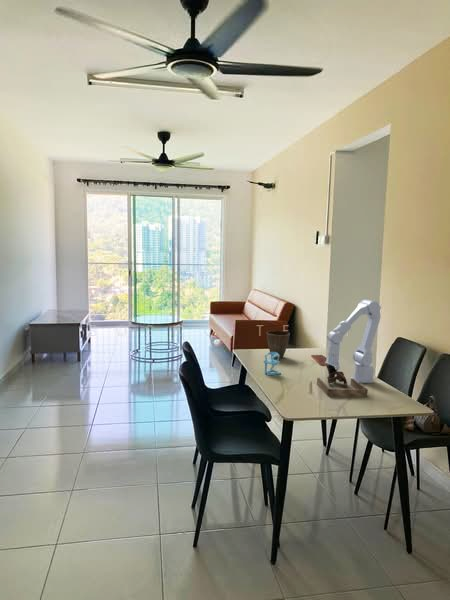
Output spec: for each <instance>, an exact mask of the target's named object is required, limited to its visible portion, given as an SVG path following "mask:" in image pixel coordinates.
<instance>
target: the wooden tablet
mask: <svg viewBox="0 0 450 600" xmlns="http://www.w3.org/2000/svg"><path fill="white" fill-rule="evenodd" d="M310 356H311V358H313V360H315V362H317V364H318V365H319V366H321V367H326V365H329V364H326V363H325V362H326V358H327V356H325V355H323V354H310Z"/></svg>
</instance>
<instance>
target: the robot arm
mask: <svg viewBox="0 0 450 600" xmlns="http://www.w3.org/2000/svg"><path fill="white" fill-rule="evenodd" d="M381 308H382V307H381V305H380V303H379V302H378V301H376V300H369V299H368V298H364V299H362V300H360V302H359V303H358V304H357V307H356V308H355V309H354V310H353V311H352V312H351V314H350V315H349V316H348V318H347V319H346V320H342V321H340V322H339V324H338V325H337V326H336V327H335V328H333V330H332V331H329V332H328V334H327V335H326V338H327V340H328V345H327V346H328V347H327V349H328V350H327V357H326V362H325V363H326V364H329V365H326V366H325V367H326V368H327V372H328V373H327V374H328V375H329V374H331V373H333V372H336V371H338V370H339V371H340V364H339V363H340V362H339V360H340V348H341V347H340V346H341V343H342V342H343V339H344V336H345V335H346V334H347V333H348V332H349V331H350V330H351V328H352V325H353V324H354V323H355V322H356V321H357V320H359V318H360V317H361V316H363V315H367V317H368V320H367V323H366V327H365V330H364V333H363V336H362V339H361V343H360V345H359V346H358V347H357V348H356V349H355V352H354V353H353V354H352V359H353V360H354V367H353V368H354V371H353V376H351V377H350V379H351V378H354V379H355V380H356V381H357V382H359V383H360V384H361V383H363V384H365V383H368V384H369V383H372V384H373V383H374V371H375V370H374V366H373V365H372V362H373V351H372V346H373V343H374V339H375V336H376V334H377V330H378V327H379V325H380V320H381V316H382V315H381ZM335 376H336V375H334V376H332V377H331V378H333V377H335Z"/></svg>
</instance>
